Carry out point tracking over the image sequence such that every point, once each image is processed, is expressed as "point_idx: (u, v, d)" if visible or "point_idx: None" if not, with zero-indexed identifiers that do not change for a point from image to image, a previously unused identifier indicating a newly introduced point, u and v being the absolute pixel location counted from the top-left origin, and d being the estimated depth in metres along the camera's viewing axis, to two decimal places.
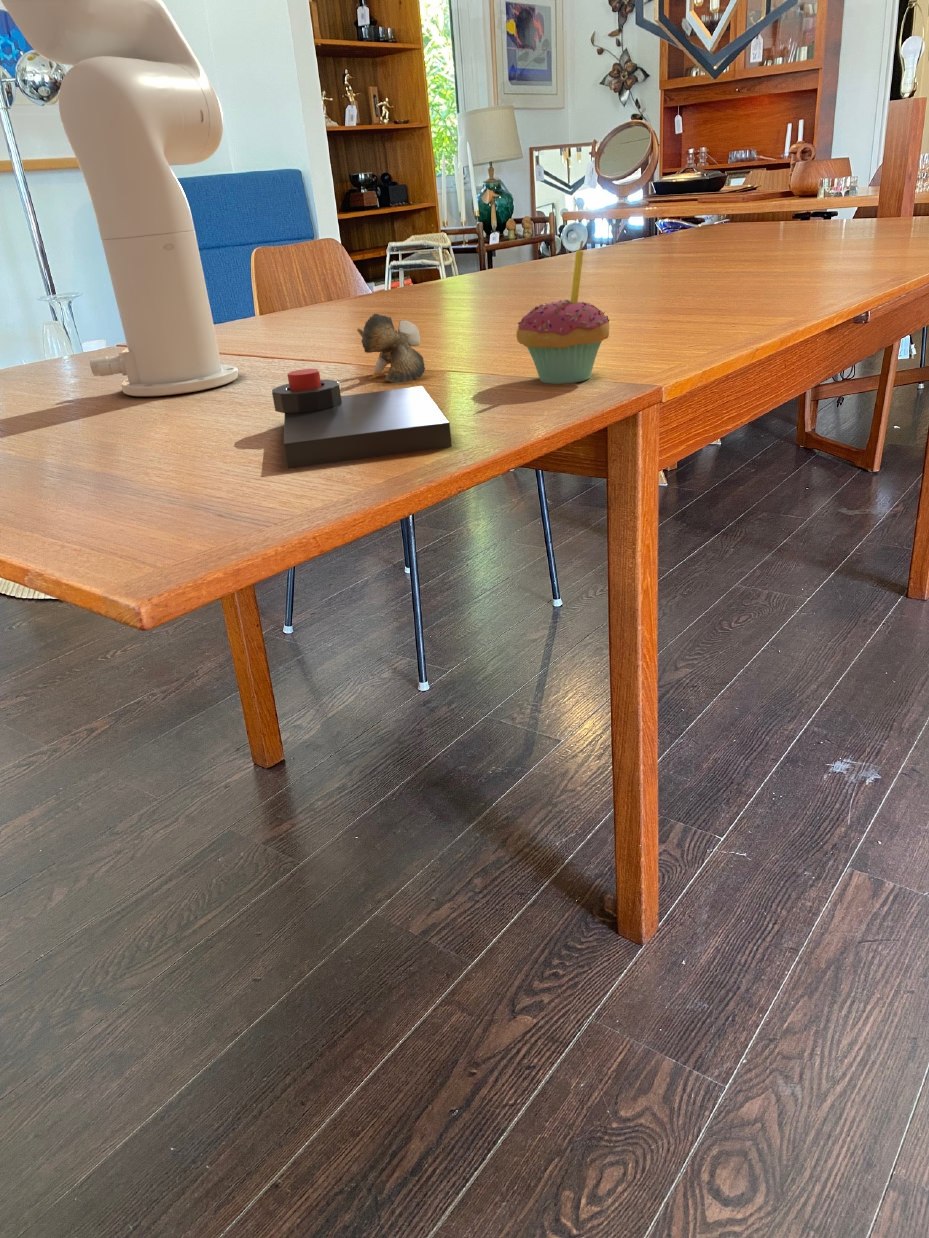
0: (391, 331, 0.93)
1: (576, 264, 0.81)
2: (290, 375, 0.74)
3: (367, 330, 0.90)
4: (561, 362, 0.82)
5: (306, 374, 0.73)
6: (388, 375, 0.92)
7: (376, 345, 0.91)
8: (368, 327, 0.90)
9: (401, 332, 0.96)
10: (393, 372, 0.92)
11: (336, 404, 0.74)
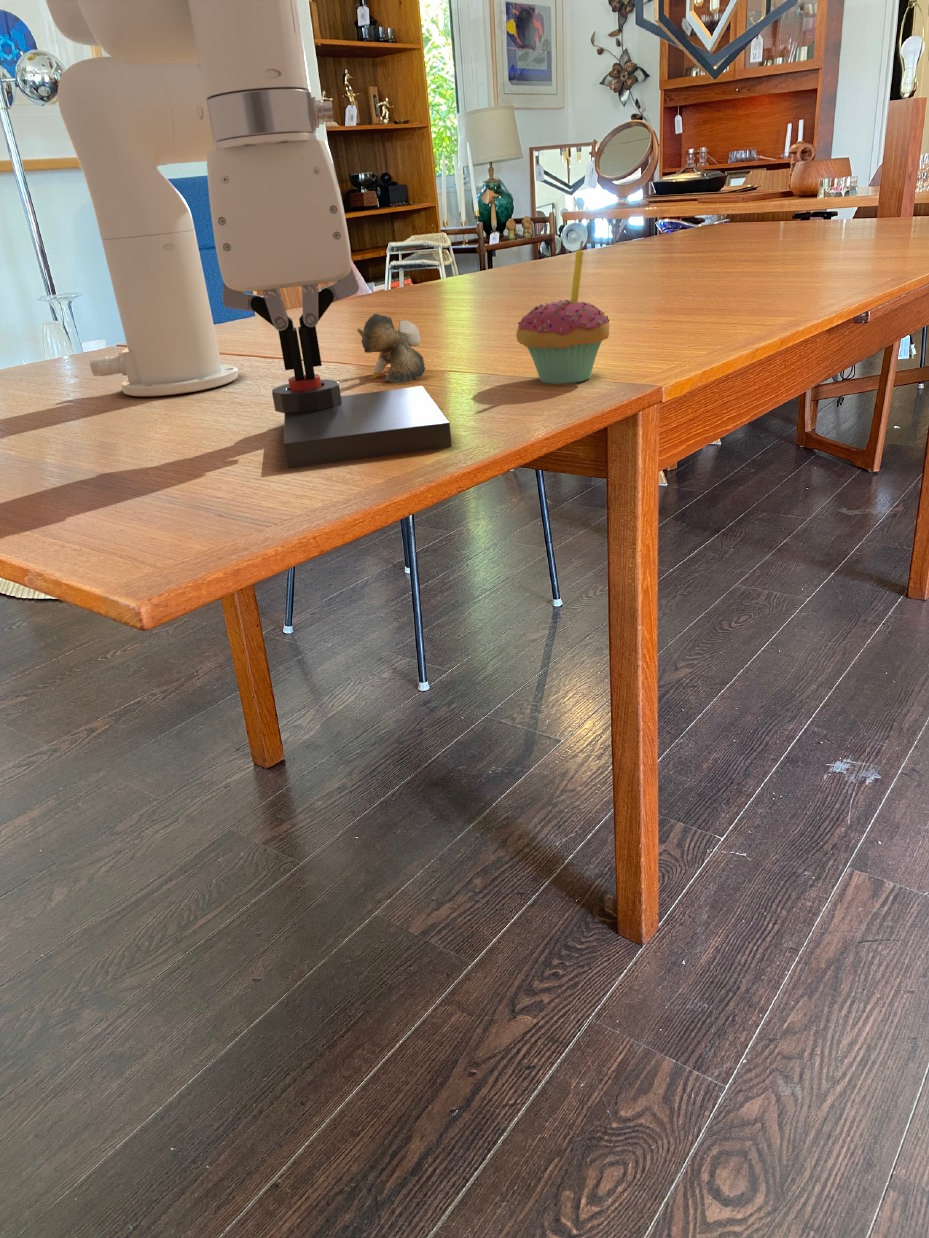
0: (391, 331, 0.93)
1: (576, 264, 0.81)
2: (291, 380, 0.74)
3: (367, 330, 0.90)
4: (561, 362, 0.82)
5: (307, 379, 0.74)
6: (388, 375, 0.92)
7: (376, 345, 0.91)
8: (368, 327, 0.90)
9: (401, 332, 0.96)
10: (393, 372, 0.92)
11: (336, 404, 0.74)
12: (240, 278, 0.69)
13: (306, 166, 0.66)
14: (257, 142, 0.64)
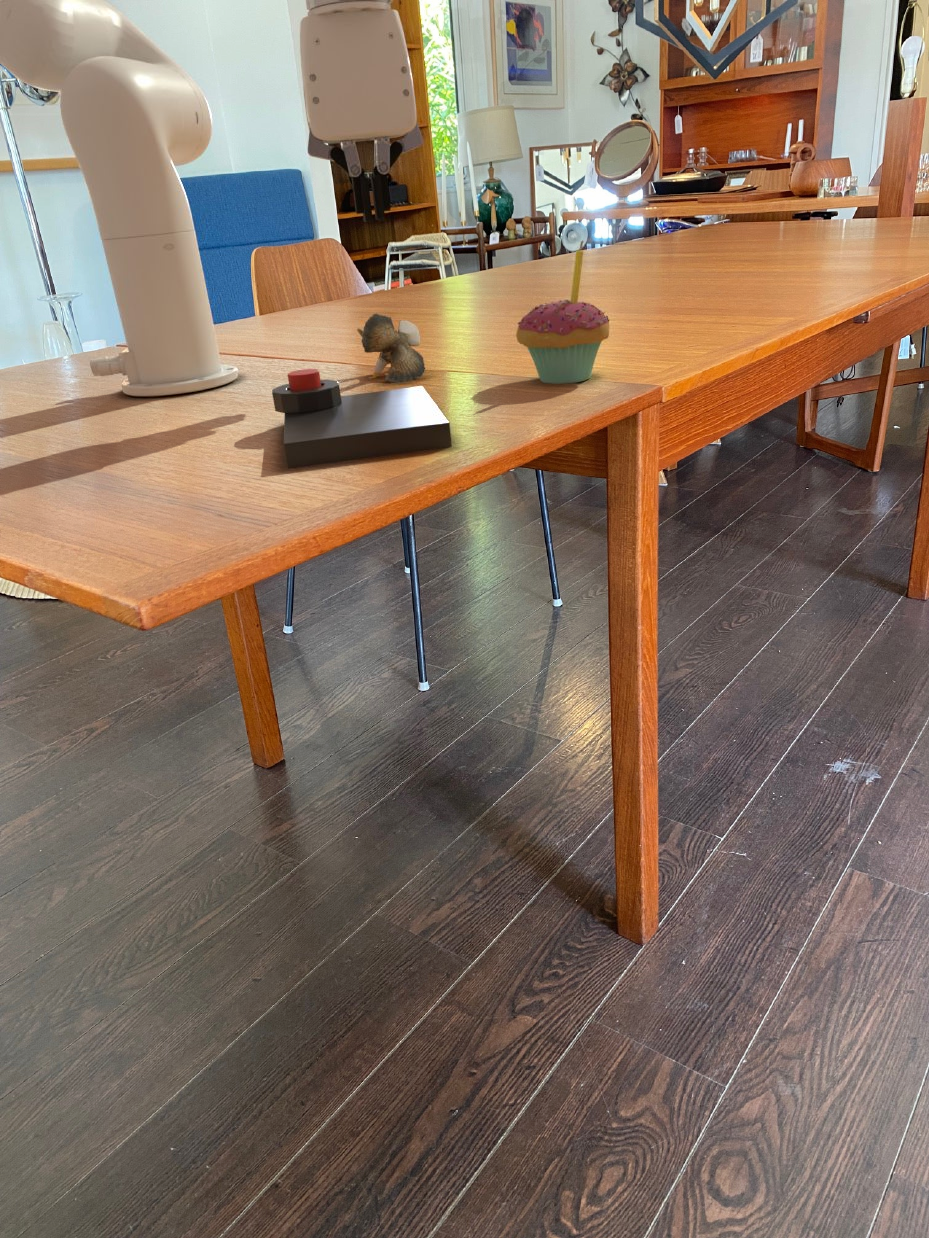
0: (391, 331, 0.93)
1: (576, 264, 0.81)
2: (290, 375, 0.74)
3: (367, 330, 0.90)
4: (561, 362, 0.82)
5: (306, 374, 0.73)
6: (387, 375, 0.92)
7: (376, 345, 0.91)
8: (368, 327, 0.90)
9: (401, 332, 0.96)
10: (393, 372, 0.92)
11: (336, 404, 0.74)
12: (325, 128, 0.83)
13: (382, 32, 0.81)
14: (345, 8, 0.78)
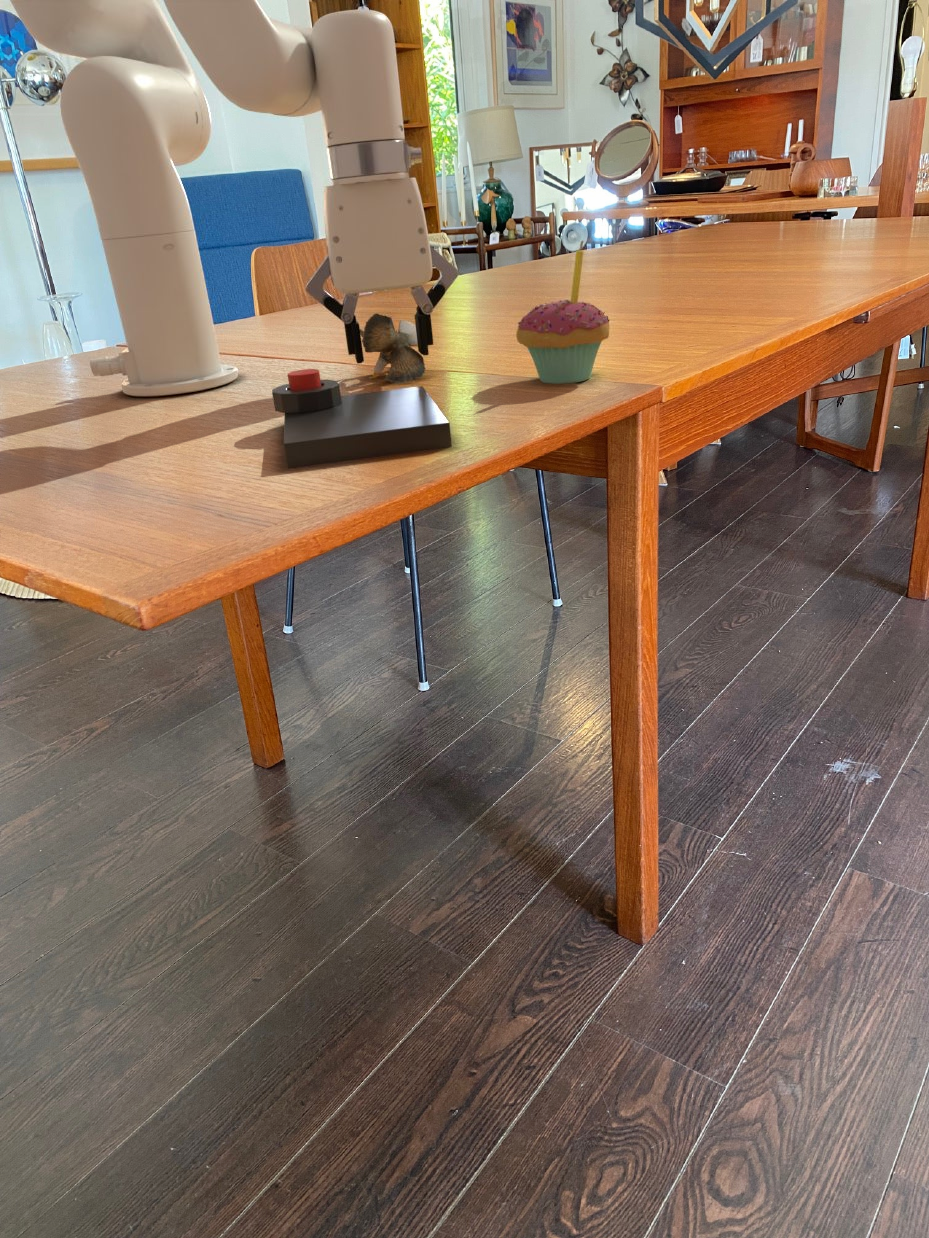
0: (391, 331, 0.93)
1: (576, 264, 0.81)
2: (290, 375, 0.74)
3: (367, 330, 0.90)
4: (561, 362, 0.82)
5: (306, 374, 0.73)
6: (388, 375, 0.92)
7: (376, 345, 0.91)
8: (369, 327, 0.90)
9: (401, 332, 0.96)
10: (393, 372, 0.92)
11: (336, 404, 0.74)
12: (348, 283, 0.89)
13: (401, 198, 0.86)
14: (367, 180, 0.84)
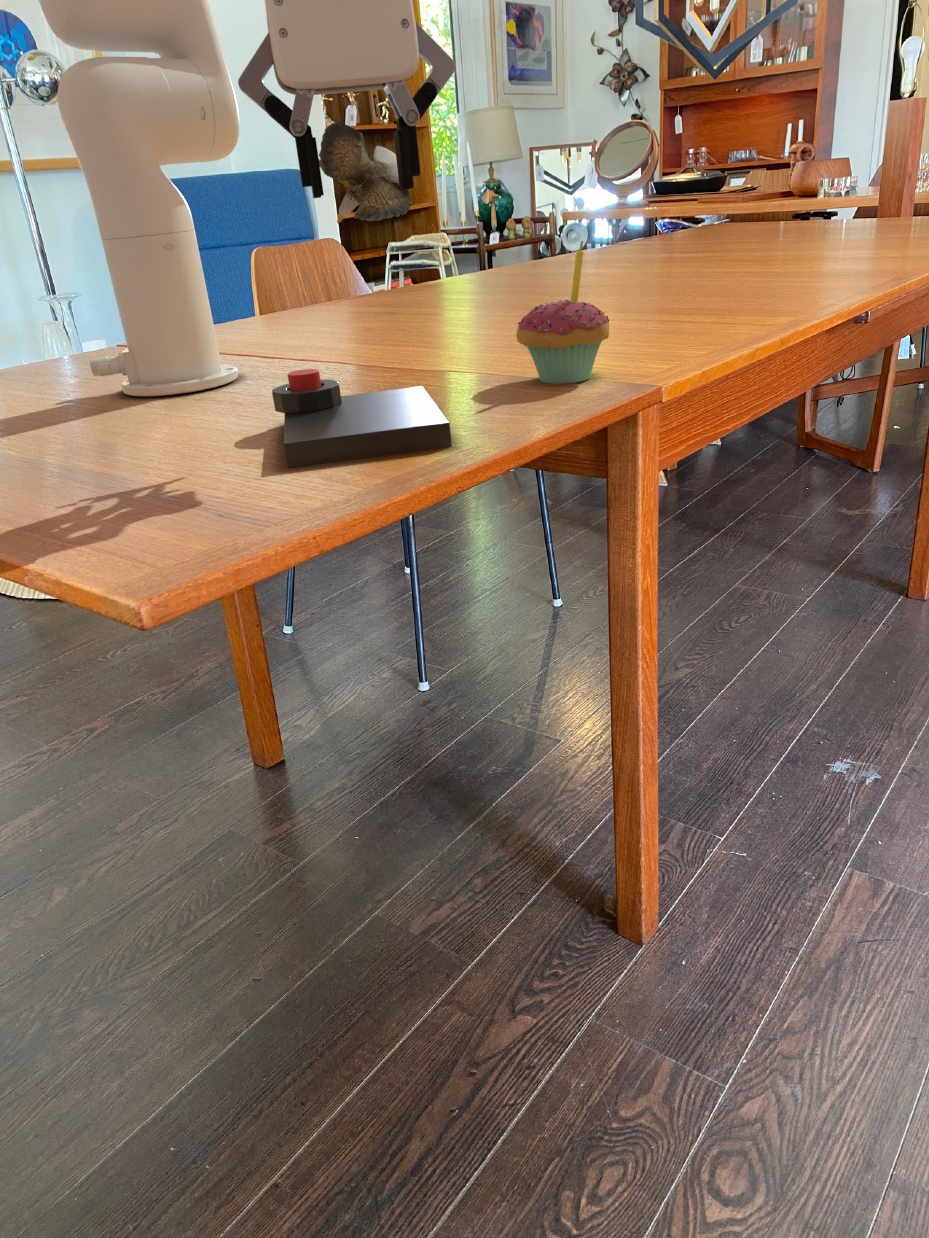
0: (363, 152, 0.66)
1: (576, 264, 0.81)
2: (290, 375, 0.74)
3: (327, 141, 0.63)
4: (561, 362, 0.82)
5: (306, 374, 0.73)
6: (357, 211, 0.65)
7: (341, 167, 0.64)
8: (329, 137, 0.63)
9: (377, 161, 0.69)
10: (365, 208, 0.65)
11: (336, 404, 0.74)
12: (297, 71, 0.62)
13: None
14: None
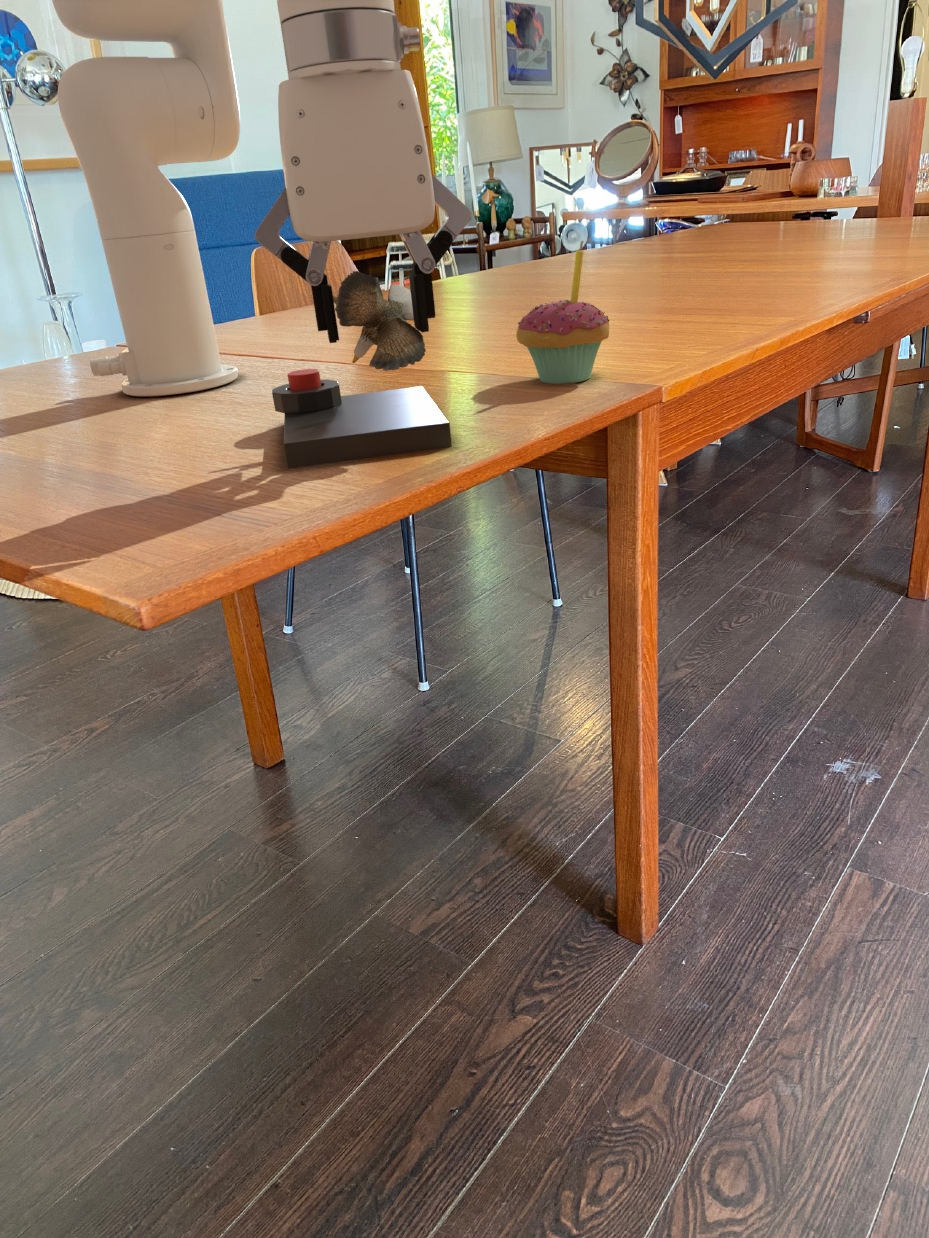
0: (378, 297, 0.66)
1: (576, 264, 0.81)
2: (290, 375, 0.74)
3: (343, 294, 0.63)
4: (561, 362, 0.82)
5: (306, 374, 0.73)
6: (373, 359, 0.65)
7: (357, 316, 0.64)
8: (345, 289, 0.63)
9: (392, 300, 0.69)
10: (381, 355, 0.65)
11: (336, 404, 0.74)
12: (313, 226, 0.62)
13: (390, 100, 0.59)
14: (339, 70, 0.57)
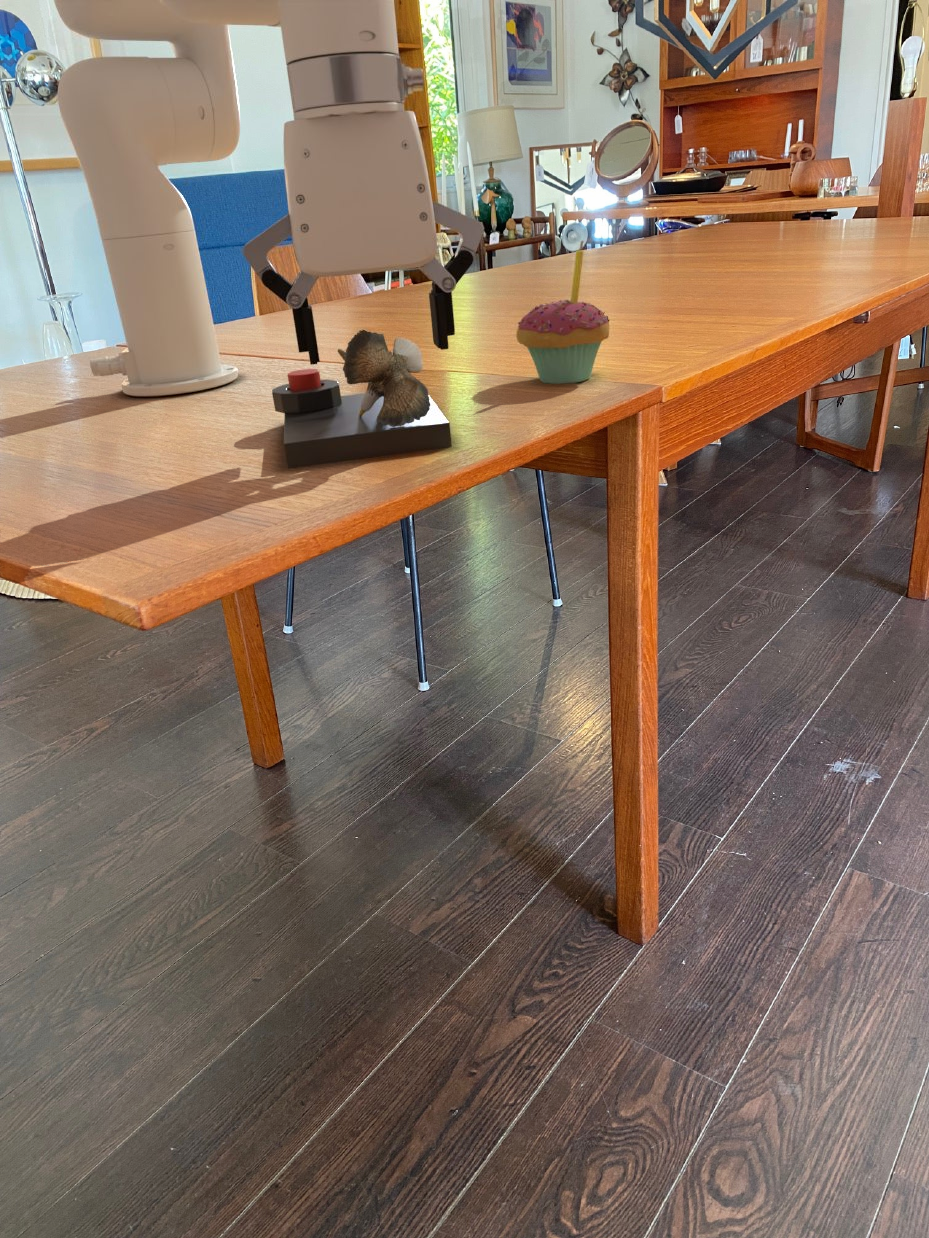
0: (384, 353, 0.68)
1: (576, 264, 0.81)
2: (290, 375, 0.74)
3: (350, 353, 0.64)
4: (561, 362, 0.82)
5: (306, 374, 0.73)
6: (379, 414, 0.67)
7: (363, 374, 0.66)
8: (352, 349, 0.65)
9: (397, 354, 0.70)
10: (387, 410, 0.67)
11: (336, 404, 0.74)
12: (317, 262, 0.63)
13: (394, 140, 0.60)
14: (344, 112, 0.58)
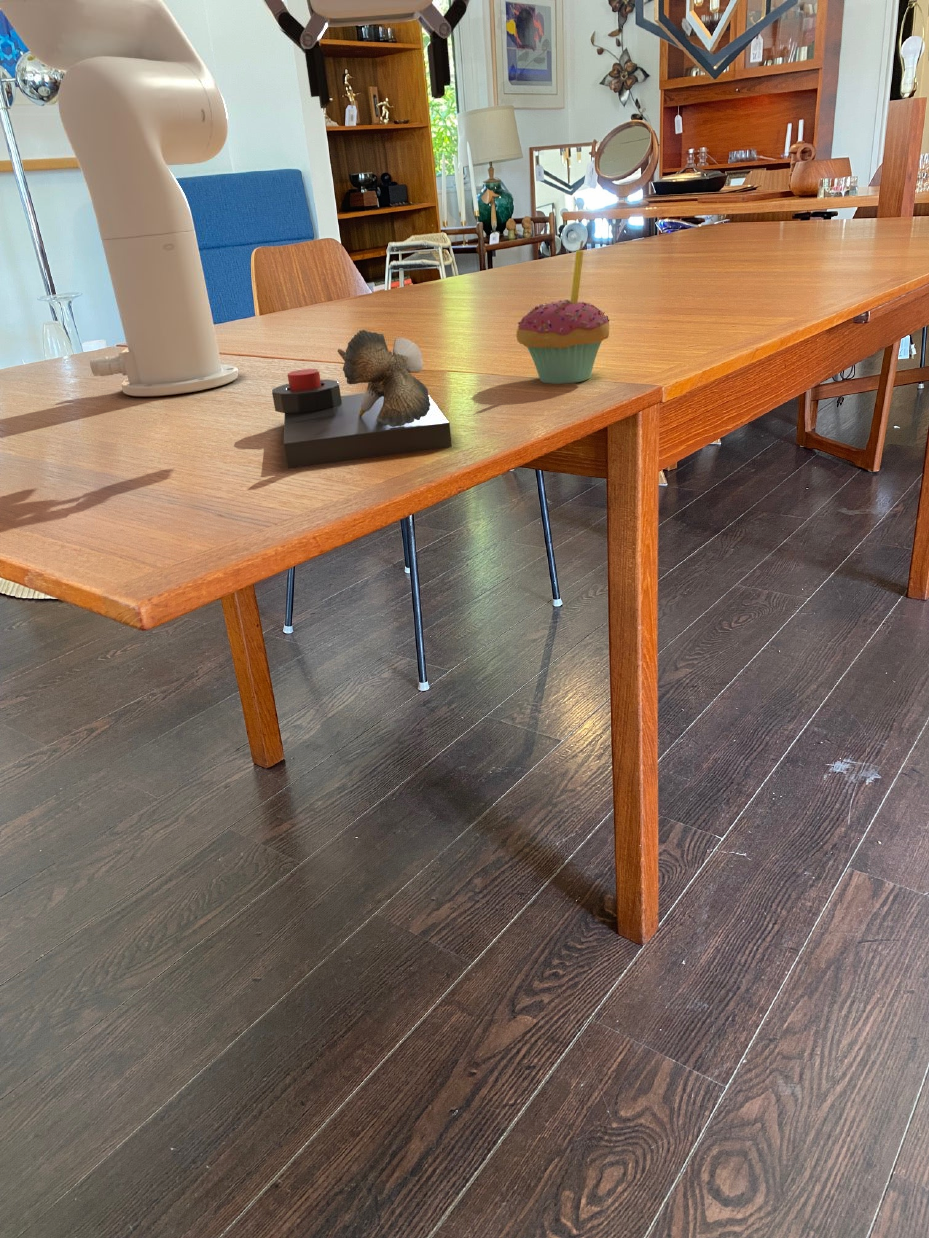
0: (384, 353, 0.68)
1: (576, 264, 0.81)
2: (290, 375, 0.74)
3: (350, 353, 0.64)
4: (561, 362, 0.82)
5: (306, 374, 0.73)
6: (379, 414, 0.67)
7: (363, 374, 0.66)
8: (352, 349, 0.65)
9: (397, 354, 0.70)
10: (387, 410, 0.67)
11: (336, 404, 0.74)
12: (328, 1, 0.71)
13: None
14: None
